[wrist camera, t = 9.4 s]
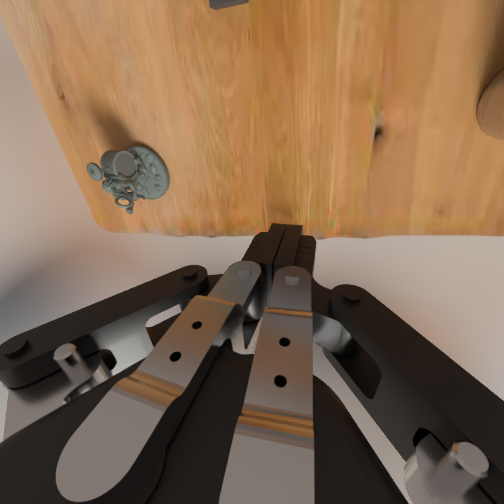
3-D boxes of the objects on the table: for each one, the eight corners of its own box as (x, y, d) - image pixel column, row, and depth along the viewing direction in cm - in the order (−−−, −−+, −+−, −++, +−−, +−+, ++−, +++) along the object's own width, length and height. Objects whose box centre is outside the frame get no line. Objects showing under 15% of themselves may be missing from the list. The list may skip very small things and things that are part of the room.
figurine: (132, 196, 55) (89, 219, 46) (116, 144, 50) (63, 157, 40) (174, 199, 53) (138, 223, 43) (162, 144, 47) (118, 159, 37)
